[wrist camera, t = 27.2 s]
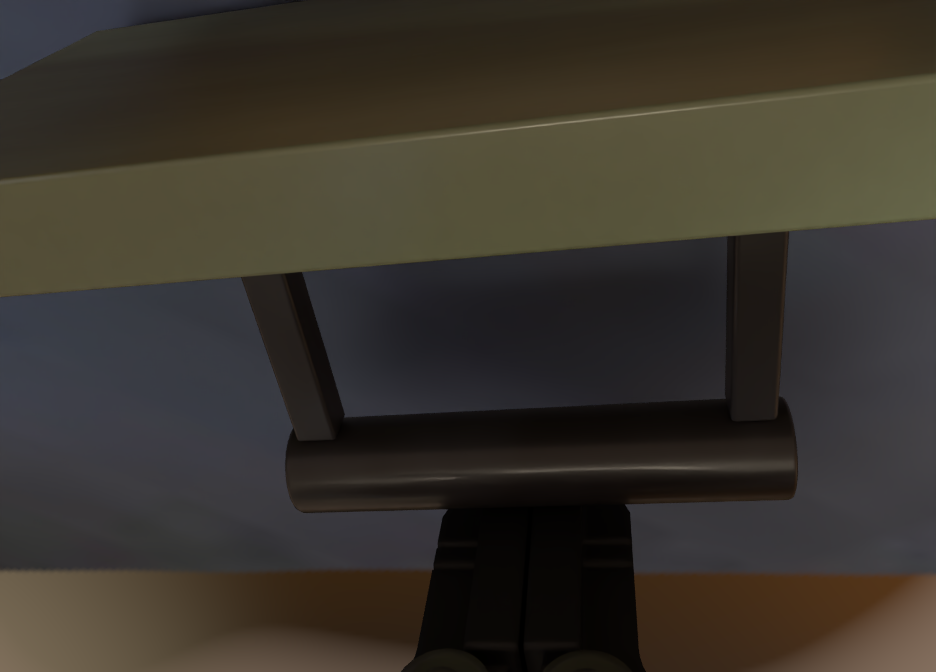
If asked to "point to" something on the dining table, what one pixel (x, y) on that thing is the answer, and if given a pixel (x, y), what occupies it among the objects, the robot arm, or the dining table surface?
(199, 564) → the dining table surface
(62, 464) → the dining table surface
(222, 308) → the dining table surface
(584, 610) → the robot arm
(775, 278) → the drawer
